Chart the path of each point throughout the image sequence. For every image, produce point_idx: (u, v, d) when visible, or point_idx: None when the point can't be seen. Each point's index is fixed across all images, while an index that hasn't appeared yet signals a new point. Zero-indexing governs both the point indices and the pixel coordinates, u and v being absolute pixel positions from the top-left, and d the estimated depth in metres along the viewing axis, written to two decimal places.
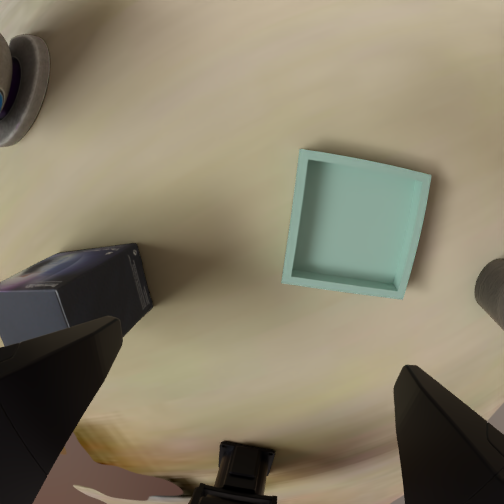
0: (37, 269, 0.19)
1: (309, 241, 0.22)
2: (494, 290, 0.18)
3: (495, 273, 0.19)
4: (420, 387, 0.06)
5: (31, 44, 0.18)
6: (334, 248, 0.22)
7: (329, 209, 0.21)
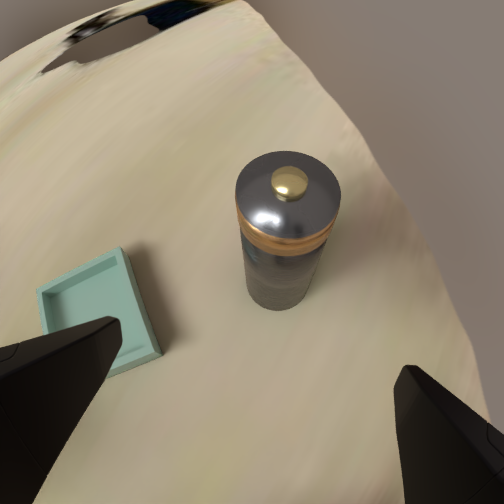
0: None
1: None
2: (246, 275, 0.21)
3: None
4: (420, 387, 0.06)
5: None
6: None
7: (73, 322, 0.22)
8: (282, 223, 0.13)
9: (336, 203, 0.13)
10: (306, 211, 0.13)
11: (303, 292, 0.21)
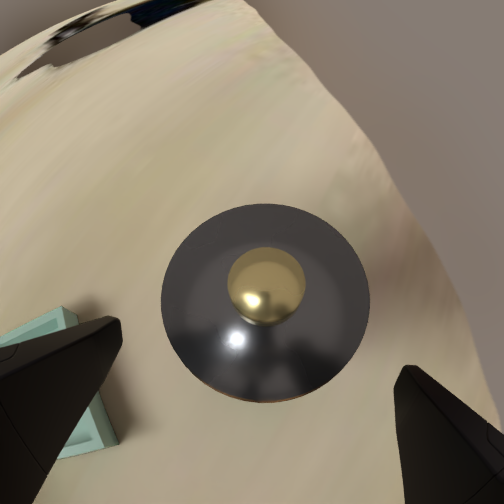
0: None
1: None
2: None
3: None
4: (420, 387, 0.06)
5: None
6: None
7: None
8: (248, 377, 0.06)
9: (360, 324, 0.06)
10: (299, 348, 0.06)
11: None
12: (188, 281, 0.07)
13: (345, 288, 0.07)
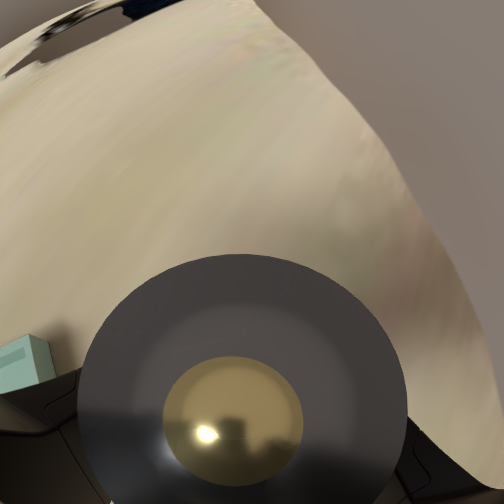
0: None
1: None
2: None
3: None
4: None
5: None
6: None
7: None
8: None
9: (389, 462, 0.03)
10: (287, 503, 0.03)
11: None
12: (112, 390, 0.04)
13: (370, 408, 0.04)
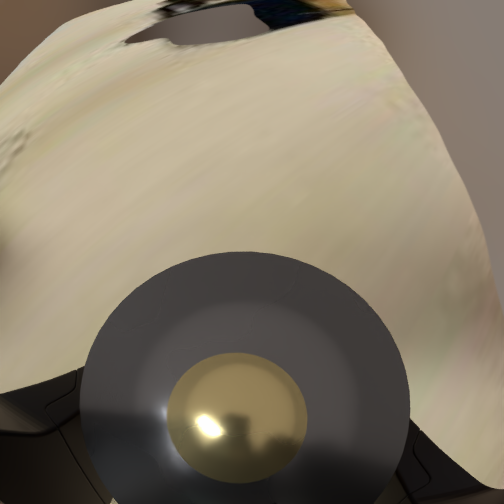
0: None
1: None
2: None
3: None
4: None
5: None
6: None
7: None
8: None
9: (391, 459, 0.03)
10: (290, 500, 0.03)
11: None
12: (115, 387, 0.04)
13: (373, 405, 0.04)
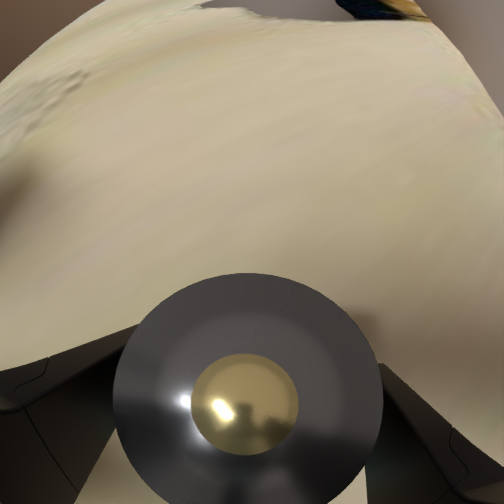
0: None
1: None
2: None
3: None
4: (383, 386, 0.07)
5: None
6: None
7: None
8: (222, 503, 0.04)
9: (368, 441, 0.04)
10: (287, 474, 0.04)
11: None
12: (144, 383, 0.05)
13: (352, 396, 0.05)
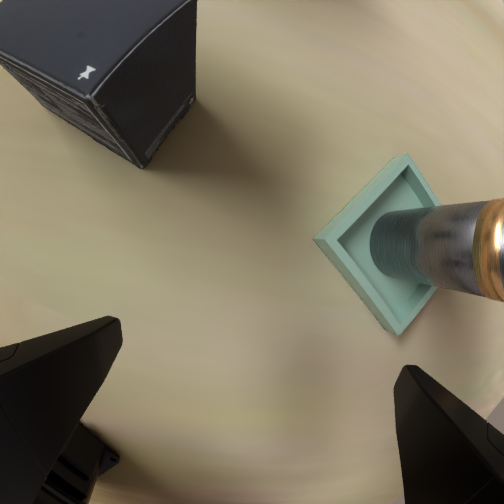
0: None
1: (358, 227, 0.20)
2: (397, 223, 0.17)
3: (398, 212, 0.18)
4: (420, 387, 0.06)
5: None
6: None
7: None
8: None
9: None
10: None
11: None
12: None
13: None
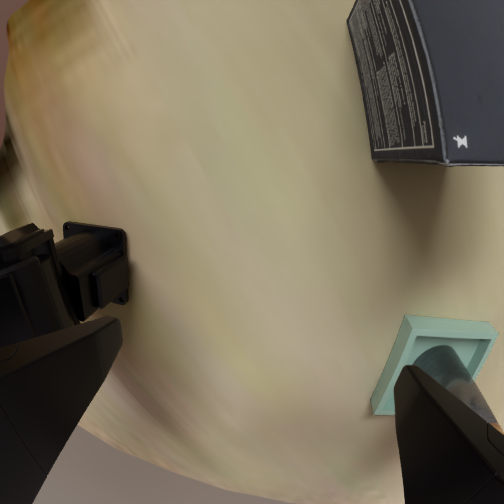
0: None
1: (430, 337, 0.21)
2: (450, 365, 0.18)
3: (456, 357, 0.19)
4: (420, 387, 0.06)
5: None
6: None
7: None
8: None
9: None
10: None
11: None
12: None
13: None
